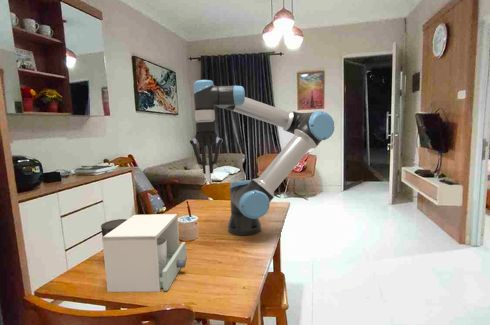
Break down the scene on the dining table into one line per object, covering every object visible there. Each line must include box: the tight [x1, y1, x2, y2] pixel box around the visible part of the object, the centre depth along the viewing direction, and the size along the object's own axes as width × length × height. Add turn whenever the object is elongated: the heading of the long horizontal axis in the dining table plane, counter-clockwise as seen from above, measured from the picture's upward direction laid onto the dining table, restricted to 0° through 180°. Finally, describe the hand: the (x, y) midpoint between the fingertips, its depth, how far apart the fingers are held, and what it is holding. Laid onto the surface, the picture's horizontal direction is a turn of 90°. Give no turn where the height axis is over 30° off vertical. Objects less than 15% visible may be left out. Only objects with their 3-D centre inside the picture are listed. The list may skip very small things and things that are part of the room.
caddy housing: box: [101, 213, 180, 293], centre depth 101 cm, size 16×23×17 cm
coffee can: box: [100, 218, 129, 238], centre depth 113 cm, size 10×10×14 cm
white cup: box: [157, 237, 167, 274], centre depth 101 cm, size 8×8×10 cm
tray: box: [159, 241, 188, 292], centre depth 102 cm, size 19×23×6 cm
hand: (208, 181), depth 121 cm, fingers closed
